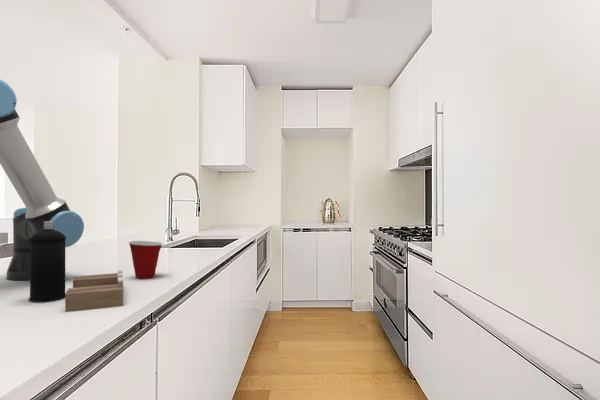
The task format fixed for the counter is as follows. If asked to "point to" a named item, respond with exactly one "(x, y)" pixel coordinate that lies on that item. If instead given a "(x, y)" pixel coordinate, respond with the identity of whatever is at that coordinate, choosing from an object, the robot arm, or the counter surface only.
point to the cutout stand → (95, 292)
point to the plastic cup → (145, 258)
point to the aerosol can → (47, 265)
